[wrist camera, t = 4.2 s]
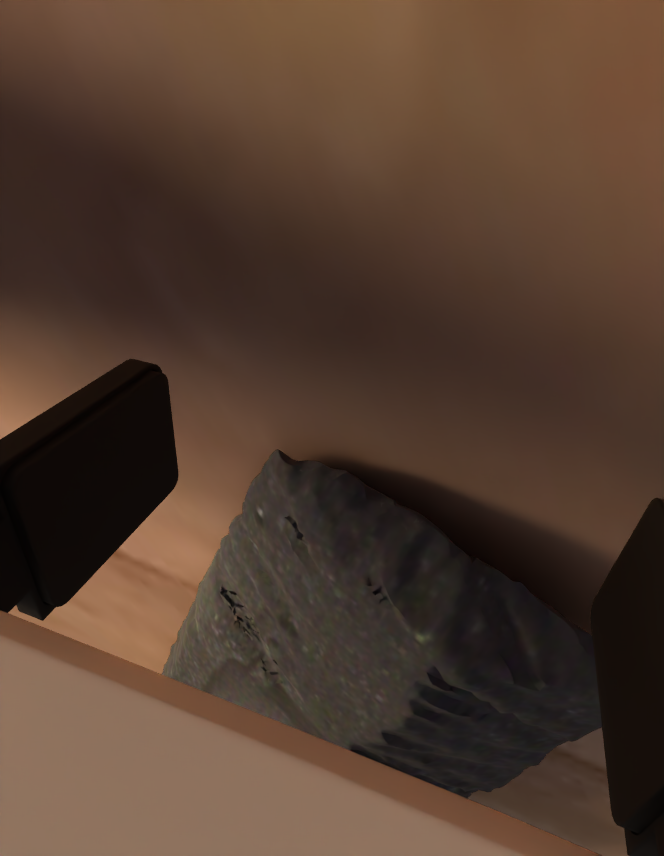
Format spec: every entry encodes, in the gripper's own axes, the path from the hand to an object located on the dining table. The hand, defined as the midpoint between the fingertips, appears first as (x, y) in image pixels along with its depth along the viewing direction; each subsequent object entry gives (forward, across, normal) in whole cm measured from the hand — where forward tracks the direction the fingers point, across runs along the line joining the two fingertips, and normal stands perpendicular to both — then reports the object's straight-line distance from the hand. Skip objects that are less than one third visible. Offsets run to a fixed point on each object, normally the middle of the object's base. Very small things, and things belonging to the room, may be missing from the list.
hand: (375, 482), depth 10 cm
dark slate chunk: (+5, 0, +15) cm, 16 cm away
